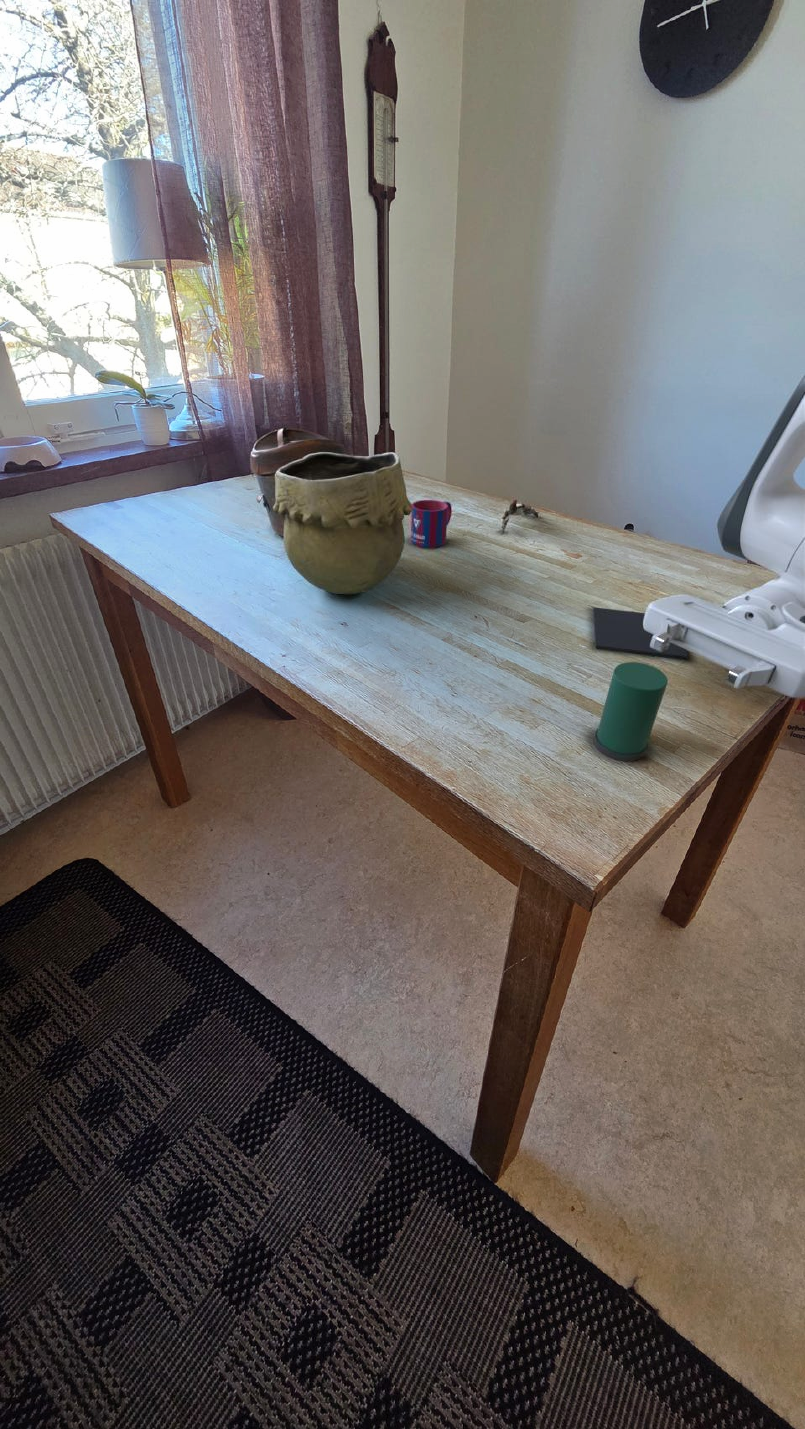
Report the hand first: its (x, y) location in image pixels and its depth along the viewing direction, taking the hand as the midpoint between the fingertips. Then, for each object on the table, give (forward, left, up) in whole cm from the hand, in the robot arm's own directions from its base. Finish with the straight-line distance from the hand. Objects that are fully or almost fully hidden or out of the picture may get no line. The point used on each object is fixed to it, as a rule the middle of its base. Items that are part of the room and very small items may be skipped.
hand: (692, 661), depth 67 cm
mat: (+3, -19, -7) cm, 20 cm away
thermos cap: (+7, +8, -7) cm, 13 cm away
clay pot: (+48, -23, -7) cm, 53 cm away
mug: (+38, -48, -7) cm, 61 cm away
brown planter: (+64, -47, -7) cm, 79 cm away
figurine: (+23, -61, -7) cm, 65 cm away
